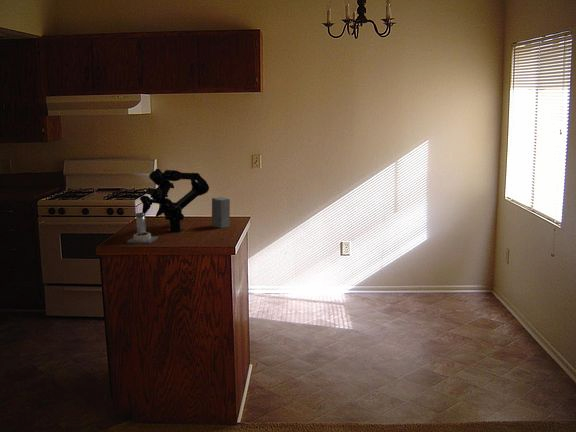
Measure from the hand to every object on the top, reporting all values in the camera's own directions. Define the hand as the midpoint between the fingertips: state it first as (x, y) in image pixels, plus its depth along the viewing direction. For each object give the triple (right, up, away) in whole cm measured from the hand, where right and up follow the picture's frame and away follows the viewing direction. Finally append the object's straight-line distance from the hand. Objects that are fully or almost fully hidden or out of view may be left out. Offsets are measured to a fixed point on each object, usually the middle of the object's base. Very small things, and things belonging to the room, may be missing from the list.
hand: (149, 215), depth 322 cm
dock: (-3, -13, -2) cm, 13 cm away
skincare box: (+34, -6, +24) cm, 42 cm away
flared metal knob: (-3, -12, -2) cm, 12 cm away
